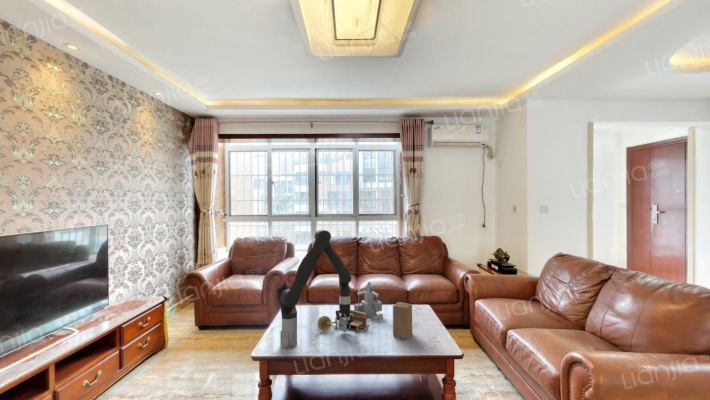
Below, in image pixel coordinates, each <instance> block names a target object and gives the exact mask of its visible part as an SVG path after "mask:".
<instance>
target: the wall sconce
mask: <svg viewBox="0 0 710 400" xmlns="http://www.w3.org/2000/svg"><path fill="white" fill-rule="evenodd" d="M338 321H339V320H337V318H336V317H335V321H331V318H330V317H329V316H327V315H322V316H320V317H319V318H318V320H317V324H316V325H317V328H318V329H319V330H320V331H322V332H327V331H329V330H330V328H331V326H332V324H334V325H335V327H336V328H338Z"/></svg>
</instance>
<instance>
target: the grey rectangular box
mask: <svg viewBox="0 0 710 400" xmlns="http://www.w3.org/2000/svg"><path fill="white" fill-rule="evenodd" d="M337 321H338V327H337V328H338V331H341V332H343V333H344V332H347V331H348V330H350V329H351V326H352V325H351V323H350V328H349V329H347V321H346V320H345V318H343V319H341V320H337Z"/></svg>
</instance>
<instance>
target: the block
mask: <svg viewBox="0 0 710 400" xmlns="http://www.w3.org/2000/svg"><path fill="white" fill-rule="evenodd" d="M392 333H393V334H392V335H393V337H394V338H398V339H401V340H402V339H403V340H408V339H409V338H410V337H411V336H412V335H413V305H412V303H408V302H403V301H402V302H401V301H398V302H396V303H395V304H394V305H393V306H392Z"/></svg>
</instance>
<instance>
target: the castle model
mask: <svg viewBox="0 0 710 400" xmlns="http://www.w3.org/2000/svg"><path fill="white" fill-rule="evenodd" d="M356 292H357V293H356V294H357V303H354V306H353V307H354V310H355V311H359V312H363V313H367V319H369V318H371V319H372V320H374V321H380V320H383V319H384V313H378V312H382V311H383V305H382V304H383V302H382V301H380V300H379V297H380V293H377V292H375V291H374V290H373V285H372V283H371V282H370V281H368V282H367V284H366V285H365V290H361V291H356ZM362 295H363V296H364V297H363V298H364V300H363V299H362V300H361V302H360V296H362ZM374 297H376V300H374Z"/></svg>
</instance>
